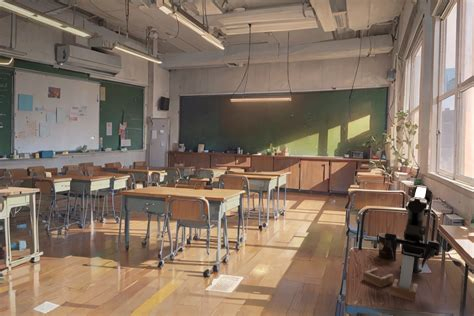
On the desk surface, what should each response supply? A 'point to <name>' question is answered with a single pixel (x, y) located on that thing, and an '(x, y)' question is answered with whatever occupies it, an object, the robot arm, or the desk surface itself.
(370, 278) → the end cap
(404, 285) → the slat
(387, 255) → the coffee mug
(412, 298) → the end cap
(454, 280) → the desk surface
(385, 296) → the desk surface
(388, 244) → the robot arm
